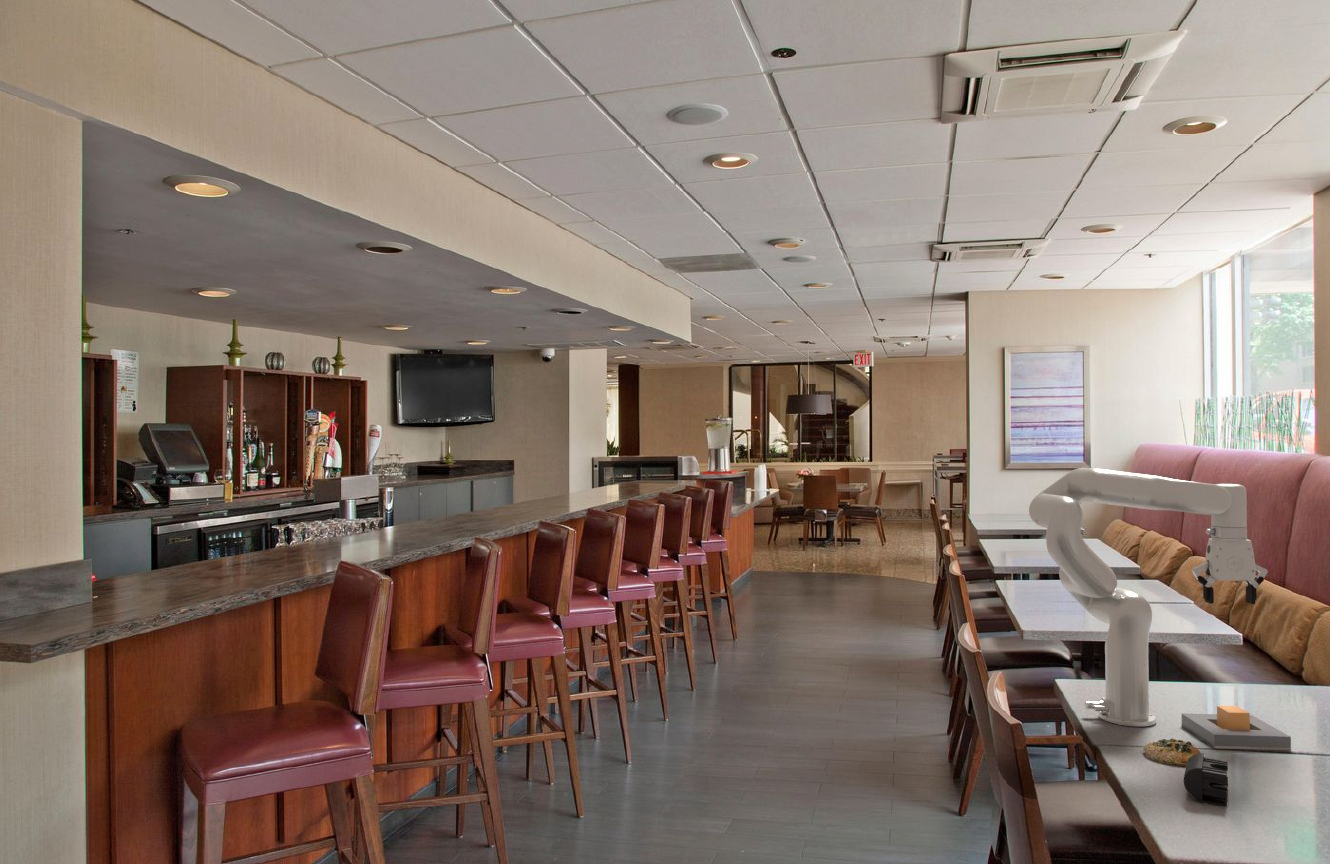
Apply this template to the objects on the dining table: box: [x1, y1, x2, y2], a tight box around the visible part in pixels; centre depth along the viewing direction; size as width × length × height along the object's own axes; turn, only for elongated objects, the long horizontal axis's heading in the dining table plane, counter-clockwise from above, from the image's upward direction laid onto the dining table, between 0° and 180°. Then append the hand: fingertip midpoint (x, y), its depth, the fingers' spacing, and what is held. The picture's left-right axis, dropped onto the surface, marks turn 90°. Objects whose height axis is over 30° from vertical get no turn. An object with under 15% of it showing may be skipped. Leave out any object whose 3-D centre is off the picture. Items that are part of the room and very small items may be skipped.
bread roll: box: [1142, 738, 1201, 767], centre depth 198 cm, size 11×11×5 cm
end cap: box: [1183, 752, 1229, 808], centre depth 177 cm, size 10×7×7 cm
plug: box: [1216, 705, 1251, 730], centre depth 212 cm, size 4×6×6 cm
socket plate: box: [1181, 713, 1292, 751], centre depth 212 cm, size 16×16×3 cm
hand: (1229, 603), depth 227 cm, fingers open, 9 cm apart
